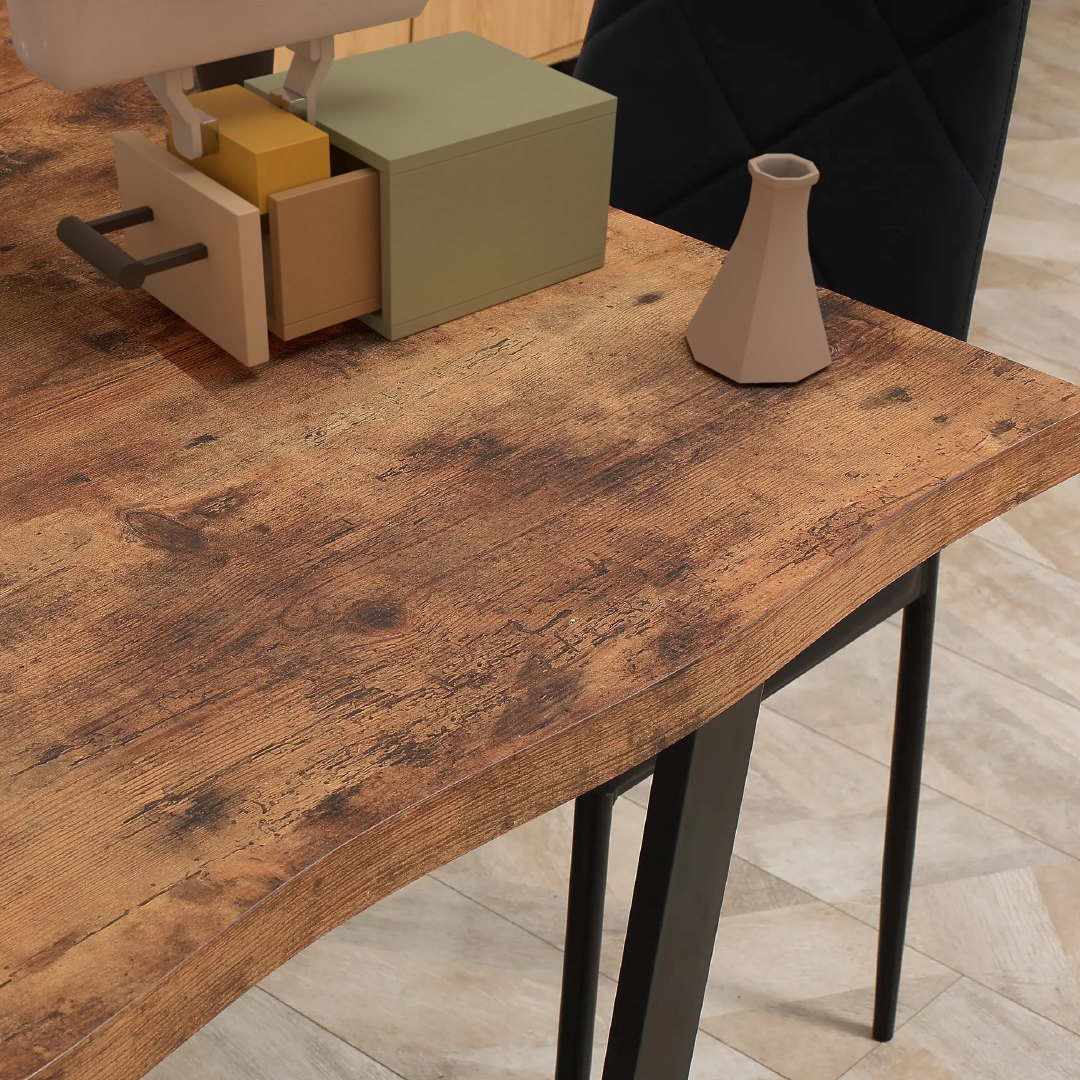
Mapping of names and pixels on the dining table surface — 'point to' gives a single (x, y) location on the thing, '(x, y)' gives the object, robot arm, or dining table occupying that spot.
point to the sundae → (235, 70)
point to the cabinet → (470, 171)
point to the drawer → (239, 247)
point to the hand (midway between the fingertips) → (246, 141)
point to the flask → (766, 285)
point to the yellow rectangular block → (258, 146)
